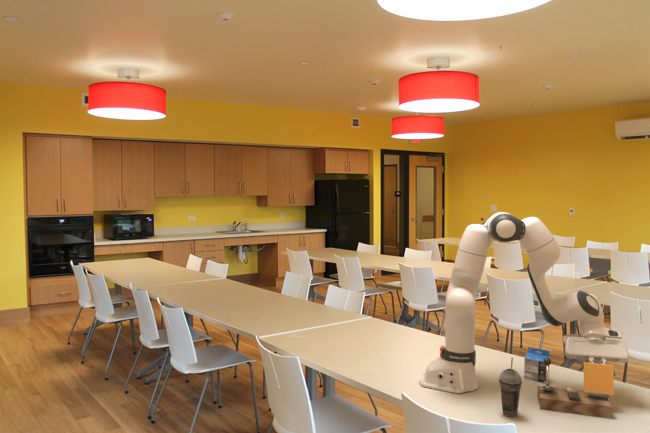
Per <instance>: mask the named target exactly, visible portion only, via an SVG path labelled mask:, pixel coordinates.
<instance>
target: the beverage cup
mask: <svg viewBox="0 0 650 433" xmlns="http://www.w3.org/2000/svg"><path fill="white" fill-rule="evenodd" d="M513 361H514V357H512V356H511V359H510V368H506V369H504V370H503V371H501V373H500V375H499V379H498V381H499V387H500V398H501V408H502V415H503V416H504V417H505V418H506V417H507V418H510V419H512V418H513V419H515V418H517V417H518V411H519V402H520V393H521V392H520V391H521V388H522V384H523V382H522V376H521V375H520V374H519V372H518V371H517V370H515V369H513Z"/></svg>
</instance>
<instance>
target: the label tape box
mask: <svg viewBox="0 0 650 433" xmlns="http://www.w3.org/2000/svg"><path fill="white" fill-rule="evenodd" d="M550 357H551V356H550V350H546V349H541V348H537V347H531V346H527V352H526V354H525V356H524V360H523V361H524V364H523V365H524V366H523V378H524V379H527V380H532V381H535V382H540V383H543V384H546V365H545V364H544V359H545V358H549V359H550V360H551V358H550Z"/></svg>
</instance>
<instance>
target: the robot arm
mask: <svg viewBox="0 0 650 433" xmlns="http://www.w3.org/2000/svg"><path fill="white" fill-rule="evenodd" d="M495 241H497V242H500V243H511V242H515V241H516V242H517V241H518V242H519V243H520V244H521V245H522V247H523V249H524V251H525V252H526V254H527V256H528V260H529V262H528V264H527V266H526V268H527V269H526V270H527V273H528V277H529V279H530V283H531V286H532V288H533V290H534V292H535V295H536V297H537V300H538V303H539V306H540V310H541V313H542V316H543V319H544V320H545V322H547V323H548V324H550V325H552V326H554V327H560V326H562V325H565V324H567V323H568V324H569V323H570V322H574V321H578V323H579V326H578V329H579V333H575V334H574V333H566V334H564V335H563V336H562V342H563V344H564V356H565V357H566V358H567V359H575V360H586V361H587V362H588V363H595V361H599V362H600V364H607V363H606V362H608V363H609V362H611V363H621V364H622V363H623V364H627V363H628V362H629V360H630V353H629V349H628V346H627V344H626V342H625V340H623V339H622V337H623V335H622V332H619V331H617V330H614V329H610V328H608V327H606V324H605V323H604V320H605V316H604V310H603V307H602V304H601V301H600V299H599V298H598V296H596V295H595V294H592V293H587V292H586V291H582V290H578V291H574V292H570V293H568V294H565V295H563V296H559V297H555V298H554V297H552V295H551V292H550V290H549V287H548V284H547V282H546V279H545V275H546V273H547V272H548V271H549V270H551V268H552V267H553V266H555V265H556V263H558V261H559V259H560V257H561V256H560V255H561V248H560V246H559V244H558V242H557V240H556V239H555V237H554V235H553V234H552V232H551V231H550V229H548V227H547V226H546V225H545V223H543V221H542V220H541V219H540V218H538V217H536V216H528V217H525V218H523V219H519V218H518V217H516V216H514V215H513V214H512V213H510V212H506V211H496V212H494V213H492V214H490V215H489V216H488V217H487V219H485V221H484V222H482V224H480V223H471V224H469V225H467V226H466V227H465V230H464V232H463V233H462V236H461V239H460V242H459V244H458V248H457V251H456V252H457V253H456V255H455V256H456V257H455V259H454V264H453V268H452V271H451V275H450V279H449V282H448V287H447V290H446V294H445V301H444V305H445V308H444V309H445V311H444V312H445V313H444V314H445V322H444V323H445V326H444V328H445V332H444V333H445V335H444V336H445V342H444V343H445V345H440V346H439V356H438V357H437V358H436V359H434V360H432V361H431V362H429V363H428V365H427V366H426V369H425V373H423V374H422V375H420V377H419V385H420V386H421V387H423V388H428V389H434V390H439V391H442V392H443V391H444V392H448V393H453V394H458V395H459V394H463V393H467V392H472V391H475V390H478V389H479V382H478V379H477V373H476V362H477V354H476V348H475V343H476V342H475V339H476V338H475V336H476V335H475V334H476V333H475V332H476V330H475V328H476V297H477V296H476V295H477V293H478V290H479V286H480V282H481V280H482V276H483V274H484V269H485V265H486V262H487V257H488V254H489V249H490V247H491V245H492V243H493V242H495Z"/></svg>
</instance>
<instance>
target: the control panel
mask: <svg viewBox="0 0 650 433" xmlns="http://www.w3.org/2000/svg"><path fill="white" fill-rule="evenodd" d="M543 386H544V385H537V388H536V389H537V391H536V393H537V395H536V396H537V397H536V398H537V402H538V407H539V409H540V411H541V410H544V411H552V412H559V413H567V414H574V415H582V416H589V417H597V418H607V419H613V405H612V404H611V402H610V399H607V398H598V397H589V395H588V392H584V390H580V389H576V388H574V387H566V388H562V387H553V386H552V387H553V392H546V391H543Z"/></svg>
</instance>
